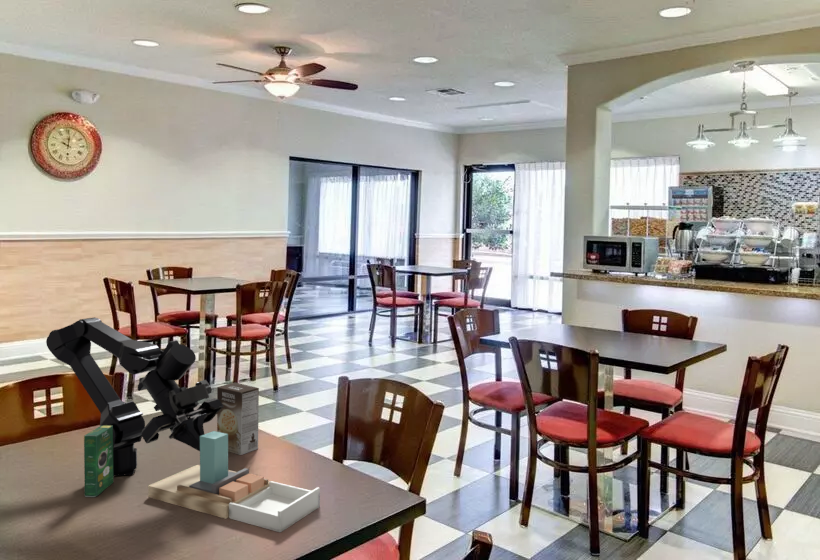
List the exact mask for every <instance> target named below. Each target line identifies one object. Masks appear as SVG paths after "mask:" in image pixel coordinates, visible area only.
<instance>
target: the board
mask: <svg viewBox="0 0 820 560" xmlns="http://www.w3.org/2000/svg"><path fill="white" fill-rule="evenodd" d="M228 471H230V472H234V473H236V472H237V471H234V470H230V469H228ZM198 481H200V464H195V465H193V466H191V467H189V468H186V469H183V470H182V471H179V472H177V473H175V474H172V475H170V476H167V477H164V478H163V479H161V480H158V481H156V482H153V483H151V484H149V485H148V487H147V489H148V491H147V495H148V498H150V499H153V500H157V501H160V502H165V503H168V504H172V505H175V506H179V507H182V508H185V509H190V510H192V511H196V512H200V513H203V514H207V515H211V516H214V517H218V518H220V519H225V520H226V519H229V503H231V502H232V503H236V504H238V503H240V502H242V501H243V500H245V499H247V498H249V497H251V496H253V495H255V494H256V493H258V492H260V491H262V490H264V489H266V488H268V487H269V482H270V481H269V479H268V478H265V477H264V486H263V487H262V488H260V489H258V490H256V491H254V492H252V493H250V492H248V495H247V496H245V497H243V498H241V499H239V500H237V501H235V502H234V501H232V498H229V497H225V496H221V495H217V494H213V493H210V492H206V491H202V490H198V489H194V488H190V487H189V485H192V484H194V483H196V482H198Z"/></svg>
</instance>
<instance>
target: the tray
mask: <svg viewBox="0 0 820 560" xmlns="http://www.w3.org/2000/svg"><path fill="white" fill-rule="evenodd" d="M320 495H321V488H320V487H319V486H316V487H315V488H314V489H312V490H311V489H306V488H302V487H298V486H294V485H290V484H285V483H282V482H277V481H272V480H270V481H269V487H268V488H266V489H264V490H262V491H260V492H258V493H256V494H255V495H253V496H251V497H249V498H247V499H245V500H243V501H242V502H240V503H238V504H236V503H232V502H231V503H229V517H228V519H231V520H235V521H238V522H240V523H241V522H242V523H244V524H249V525H252V526H256V527H259V528H262V529H263V528H264V529H267V530H271V531H274V532H278V533H282V532H283V531H285V530H286V529H288V528H289V527H291V526H292V525H294V524H296V523H297V522H298V521H301V519H303V518H304V517H307V516H308V515H309V514H311V513H312V512H314V511H315V510H317V509H318V508H320V503H321V501H320V500H321V496H320Z"/></svg>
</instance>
